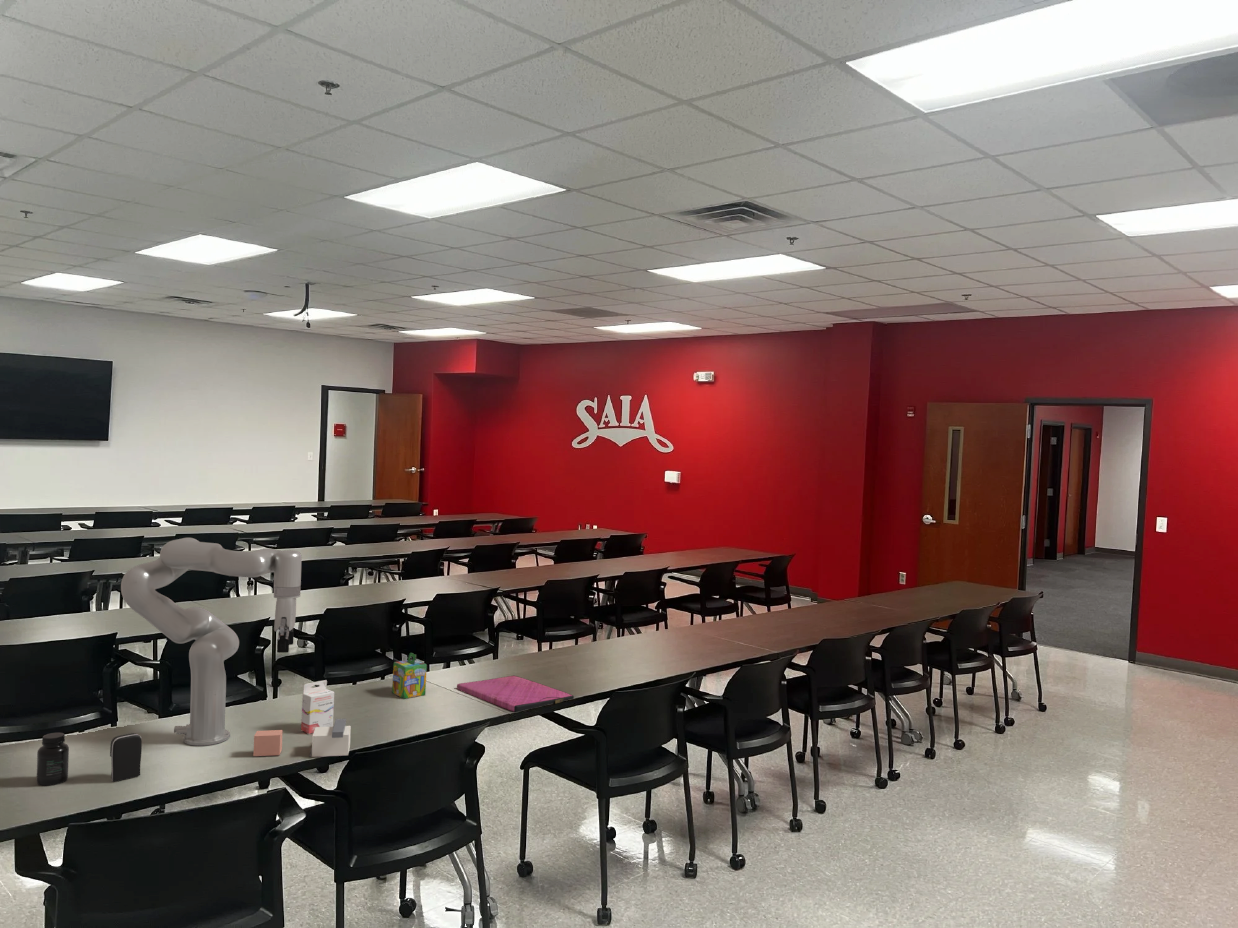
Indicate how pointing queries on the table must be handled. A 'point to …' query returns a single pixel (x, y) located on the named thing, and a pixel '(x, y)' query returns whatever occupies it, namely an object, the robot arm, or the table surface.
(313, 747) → the block
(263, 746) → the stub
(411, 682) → the chalk box
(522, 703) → the laptop bag
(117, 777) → the black rounded block
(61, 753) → the supplement bottle
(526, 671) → the table surface
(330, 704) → the ink cartridge box
